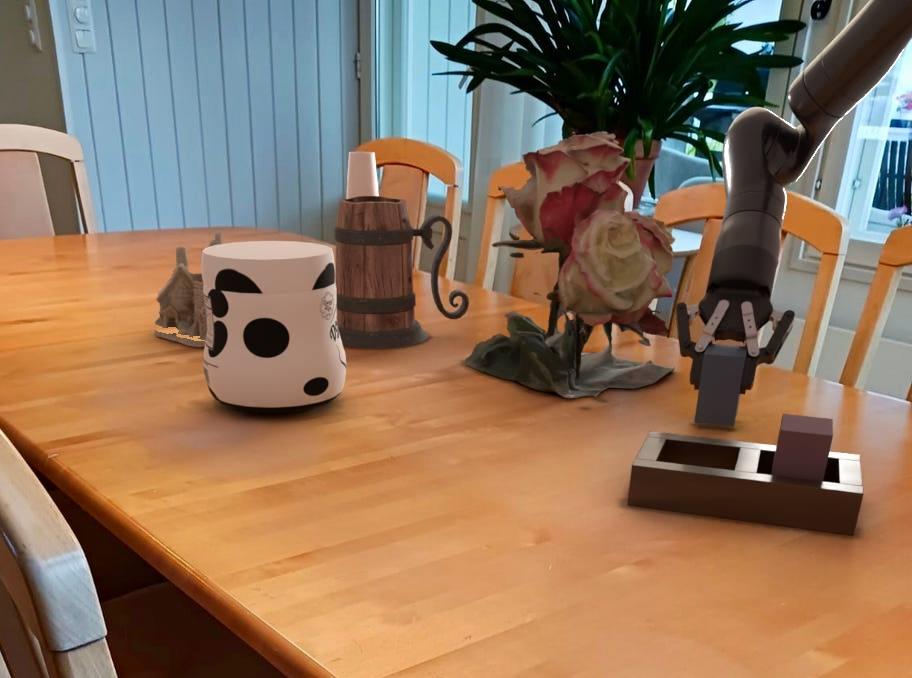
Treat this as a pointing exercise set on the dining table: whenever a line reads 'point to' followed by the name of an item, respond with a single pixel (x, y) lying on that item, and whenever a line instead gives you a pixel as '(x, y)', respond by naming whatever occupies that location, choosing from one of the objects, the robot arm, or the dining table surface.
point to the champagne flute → (362, 175)
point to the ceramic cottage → (184, 302)
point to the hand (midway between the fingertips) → (720, 387)
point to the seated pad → (803, 447)
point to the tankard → (383, 273)
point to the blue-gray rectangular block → (720, 384)
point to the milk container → (272, 326)
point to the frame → (743, 484)
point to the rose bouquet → (583, 272)
